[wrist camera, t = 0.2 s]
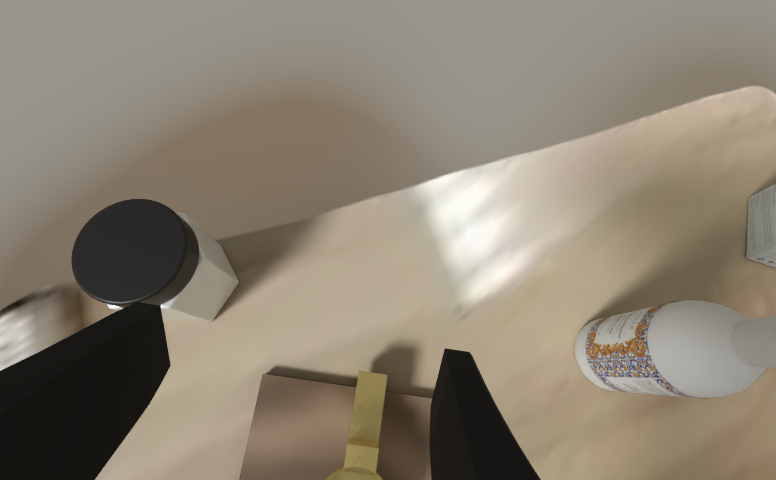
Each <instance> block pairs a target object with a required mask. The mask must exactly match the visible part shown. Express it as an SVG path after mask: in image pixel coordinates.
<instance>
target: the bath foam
mask: <svg viewBox="0 0 776 480" xmlns="http://www.w3.org/2000/svg"><path fill="white" fill-rule="evenodd" d="M575 355H576V360H577V363H578V365H579V367H580V369H581V371H582V372H583V374H584V375H585V376H586V377H587V378H588V379H589V380H590V381H591V382H593V383H594V384H595V385H597V386H599V387H601V388H603V389H606V390H611V391H621V392H631V393H643V394H656V395H668V396H680V397H693V398H716V397H723V396H727V395H731V394H734V393H737V392H739V391H742V390H744V389H745V388H747V387H748V386H750V385H751V384H753V383H754V382H755V381H756V380H757V379H758V378H759V377H760V376H761V375H762V374H763V372H764V371H765V370H766V369H767V368H776V316H772V317H764V318H757V319H750V318H748V317H746V316H744V315H743V314H741V313H739V312H737V311H735V310H733V309H731V308H728V307H726V306H723V305H720V304H716V303H712V302H707V301H695V300H689V301H676V302H671V303H667V304H662V305H658V306H653V307H649V308H645V309H640V310H636V311H631V312H627V313H622V314H618V315H613V316H609V317H605V318H601V319H597V320H594V321H591V322H590V323H588V324H586V325H585V326H584V327H583V328H582V329H581V331H580V332H579V334H578V336H577V339H576V343H575Z"/></svg>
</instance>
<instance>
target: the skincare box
mask: <svg viewBox="0 0 776 480" xmlns="http://www.w3.org/2000/svg"><path fill="white" fill-rule="evenodd" d="M746 258H748V259H751V260H754V261H757V262H760V263H763V264H766V265H769V266H772V267H774V268H776V184H774V185H772V186H770V187H768V188H766V189H764V190H763V191H761V192H759V193H757V194H755V195H753V196H750V197H749V199H748V225H747V252H746Z"/></svg>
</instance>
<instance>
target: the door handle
mask: <svg viewBox="0 0 776 480" xmlns="http://www.w3.org/2000/svg"><path fill="white" fill-rule="evenodd" d="M386 383H387V375H385V374H379V373H372V372H365V371H359V373H358V380H357V386H356V393H355V399H354V406H353V412H352V419H351V425H350V432H349V438H348V443H347V449H346V455H345V462H344V466H341V467H339V468H337V469H336V470H334V471H333V472H332V473H331V474H330V475H328V477H327V478H326V479H325V480H385V479H384V478H383V477H382V475H381V474H380V473H379V472H378V471H376V467H377V460H378V452H379V446H378V443H379V435H380V428H381V420H382V413H383V405H384V398H385V390H386Z"/></svg>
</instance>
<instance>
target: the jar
mask: <svg viewBox="0 0 776 480" xmlns="http://www.w3.org/2000/svg"><path fill="white" fill-rule="evenodd" d="M72 270H73V273H74V276H75V279H76V281H77V283H78V284H79V286H80V287H81V288H82V289H83V291H84V292H86V293H87V294H88V295H89V296H91V297H92V298H94V299H96V300H98V301H100V302H103V303H106V304H107V305H108V307H109V308H110V309H113V310H117V311H119V310H121V309H123V308H125V307H127V306H129V305H131V304H133V303H135V302H141V303H147V304H154V305H160V306H161V312H162V318H163V322H211V321H213V319H214V318H215V316H216V315H217V314H218V312H219V311H220V309H221V308H222V306H223V305H224V304H225V302H226V301H227V299H228V298H229V296H230V295H231V293H232V292H233V291H234V289H235V288H236V286H237V285H238V283H239V281H238V279H237V277H236V275H235V273H234V271H233V269H232V267H231V265H230V263H229V261H228V259H227V257H226V255H225V253H224V251H223V249H222V247H221V245H219V244H218V243H217V242H216V241H215V240H214V239H213V238H211V237H210V236H209V235H208V234H207V233H206V232H204V231H203V230H202V229H201V228H200V227H199V226H198V225H197V224H195V223H194V222H193V221H192V220H191V219H190V218H189V217H187V216H186V215H185V214H184V213H175V212H174V211H173V210H171V209H170V208H169V207H167V206H165V205H163V204H161V203H159V202H156V201H152V200H147V199H130V200H125V201H121V202H118V203H115V204H113V205H111V206H108V207H106V208H105V209H103V210H101V211H100V212H98V213H97V214H96V215H94V216H93V217H92V218H91V219H90V220H89V221H88V222H87V223H86V224H85V226H84V227H83V228H82V230H81V231H80V233H79V235H78V237H77V239H76V241H75V244H74V247H73V251H72Z"/></svg>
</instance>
